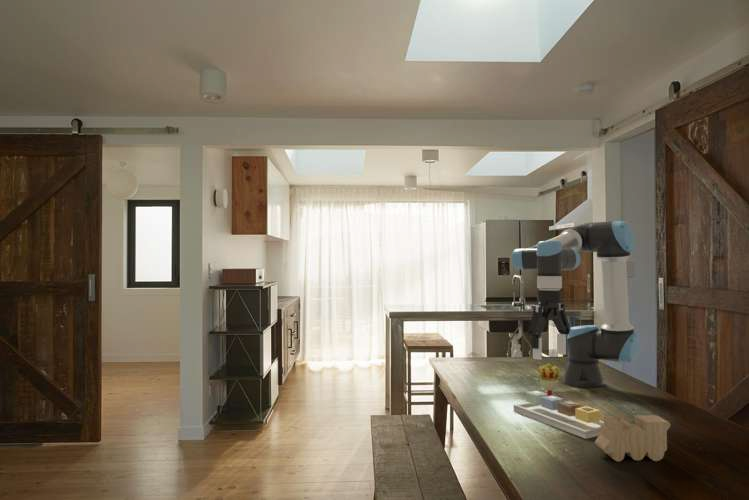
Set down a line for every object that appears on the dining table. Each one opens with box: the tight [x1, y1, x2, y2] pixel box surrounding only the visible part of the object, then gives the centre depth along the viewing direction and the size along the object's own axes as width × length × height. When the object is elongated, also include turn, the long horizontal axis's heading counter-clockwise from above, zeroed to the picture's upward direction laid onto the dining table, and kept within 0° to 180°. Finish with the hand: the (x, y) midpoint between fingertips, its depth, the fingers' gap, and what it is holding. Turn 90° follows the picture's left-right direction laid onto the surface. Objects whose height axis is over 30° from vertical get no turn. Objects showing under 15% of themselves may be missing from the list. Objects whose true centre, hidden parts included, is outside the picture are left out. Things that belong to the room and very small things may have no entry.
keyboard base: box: [513, 402, 604, 440], centre depth 164 cm, size 12×30×2 cm, turn 26°
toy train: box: [594, 414, 672, 462], centre depth 135 cm, size 6×17×10 cm, turn 91°
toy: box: [537, 363, 561, 396], centre depth 186 cm, size 7×7×15 cm
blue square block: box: [541, 394, 565, 410], centre depth 168 cm, size 5×5×3 cm
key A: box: [575, 405, 601, 423], centre depth 155 cm, size 5×5×3 cm
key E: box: [525, 390, 548, 405], centre depth 174 cm, size 5×5×3 cm
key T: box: [558, 400, 582, 416], centre depth 161 cm, size 5×5×3 cm
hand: (549, 356), depth 166 cm, fingers open, 13 cm apart
